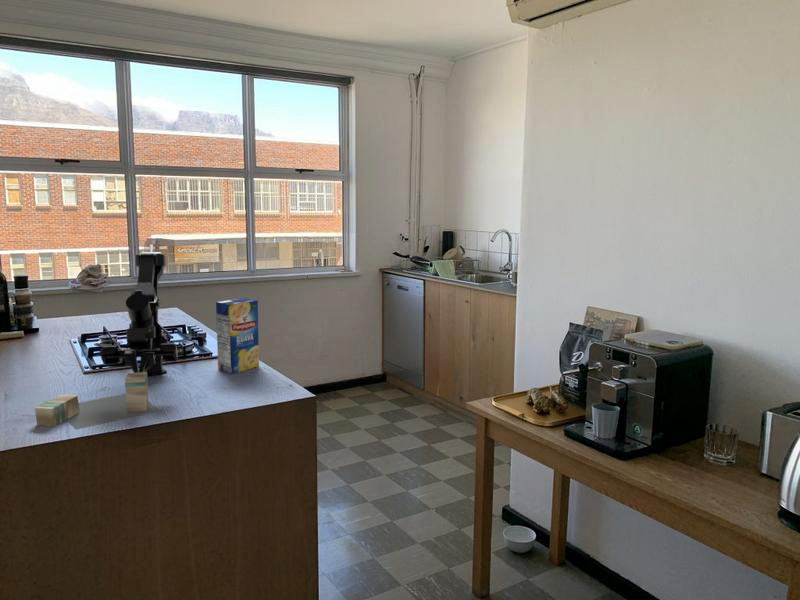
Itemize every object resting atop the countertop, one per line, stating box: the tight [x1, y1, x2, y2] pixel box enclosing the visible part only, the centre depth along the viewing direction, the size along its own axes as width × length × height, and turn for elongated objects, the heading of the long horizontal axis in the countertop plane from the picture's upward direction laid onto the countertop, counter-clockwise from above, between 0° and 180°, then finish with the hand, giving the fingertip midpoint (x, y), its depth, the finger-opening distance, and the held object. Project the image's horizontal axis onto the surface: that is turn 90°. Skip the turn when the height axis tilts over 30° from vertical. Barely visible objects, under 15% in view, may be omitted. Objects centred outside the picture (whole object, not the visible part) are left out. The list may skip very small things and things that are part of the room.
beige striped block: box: [34, 394, 80, 427], centre depth 148 cm, size 5×5×9 cm
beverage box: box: [215, 297, 260, 375], centre depth 193 cm, size 7×11×22 cm, turn 142°
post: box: [124, 372, 149, 412], centre depth 156 cm, size 5×5×9 cm
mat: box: [66, 393, 162, 430], centre depth 156 cm, size 19×20×1 cm
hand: (137, 381), depth 158 cm, fingers closed
